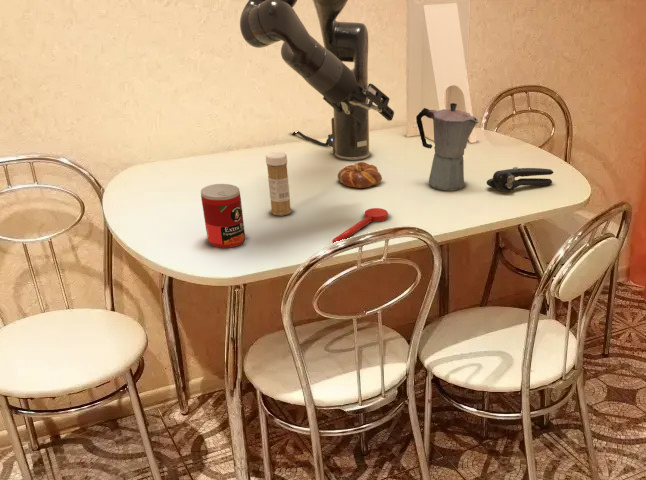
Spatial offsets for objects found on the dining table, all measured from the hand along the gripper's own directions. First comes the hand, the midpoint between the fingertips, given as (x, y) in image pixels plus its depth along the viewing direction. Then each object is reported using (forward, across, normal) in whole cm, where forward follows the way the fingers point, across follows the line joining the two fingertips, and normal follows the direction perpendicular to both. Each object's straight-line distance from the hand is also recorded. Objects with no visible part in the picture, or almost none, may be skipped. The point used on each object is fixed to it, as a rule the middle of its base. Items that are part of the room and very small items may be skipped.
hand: (377, 117), depth 168 cm
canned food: (-14, +16, +36) cm, 42 cm away
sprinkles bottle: (-1, +19, +24) cm, 31 cm away
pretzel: (+19, +20, +6) cm, 28 cm away
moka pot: (+31, +3, +1) cm, 31 cm away
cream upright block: (+51, +26, -24) cm, 62 cm away
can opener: (+41, -12, -4) cm, 43 cm away
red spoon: (+5, 0, +24) cm, 24 cm away
